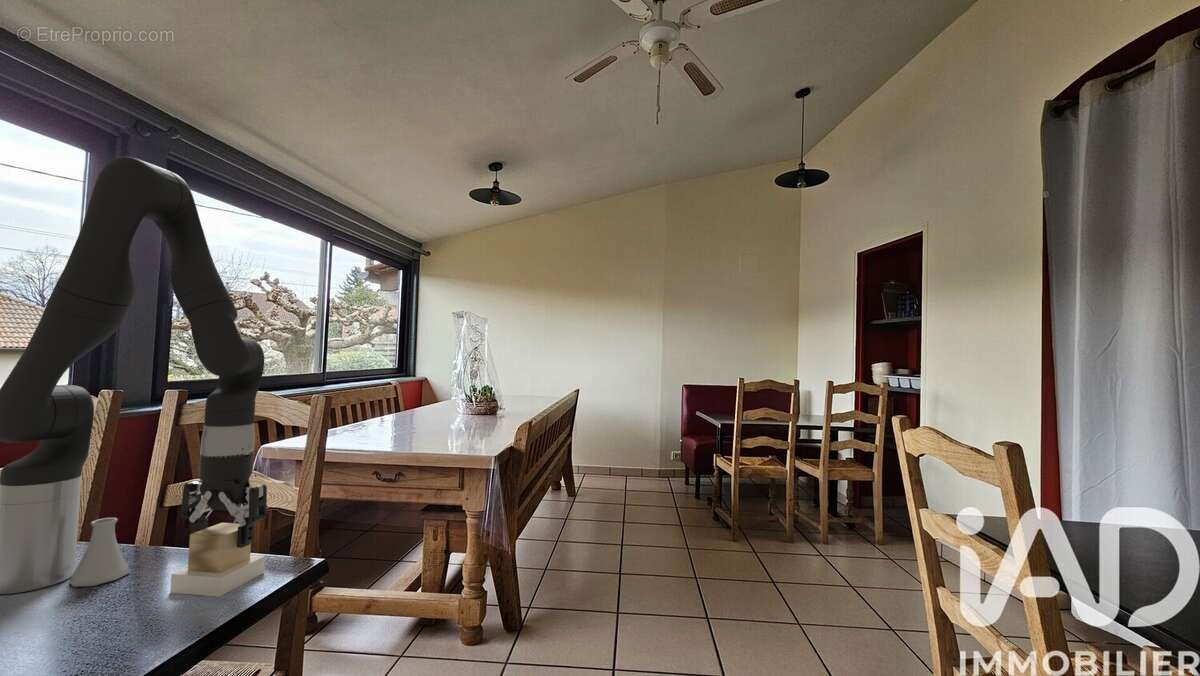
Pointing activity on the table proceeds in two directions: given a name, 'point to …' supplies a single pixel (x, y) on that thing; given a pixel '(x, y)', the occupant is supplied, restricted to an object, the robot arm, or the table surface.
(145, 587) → the table surface
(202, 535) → the oak block
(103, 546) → the flask
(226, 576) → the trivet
